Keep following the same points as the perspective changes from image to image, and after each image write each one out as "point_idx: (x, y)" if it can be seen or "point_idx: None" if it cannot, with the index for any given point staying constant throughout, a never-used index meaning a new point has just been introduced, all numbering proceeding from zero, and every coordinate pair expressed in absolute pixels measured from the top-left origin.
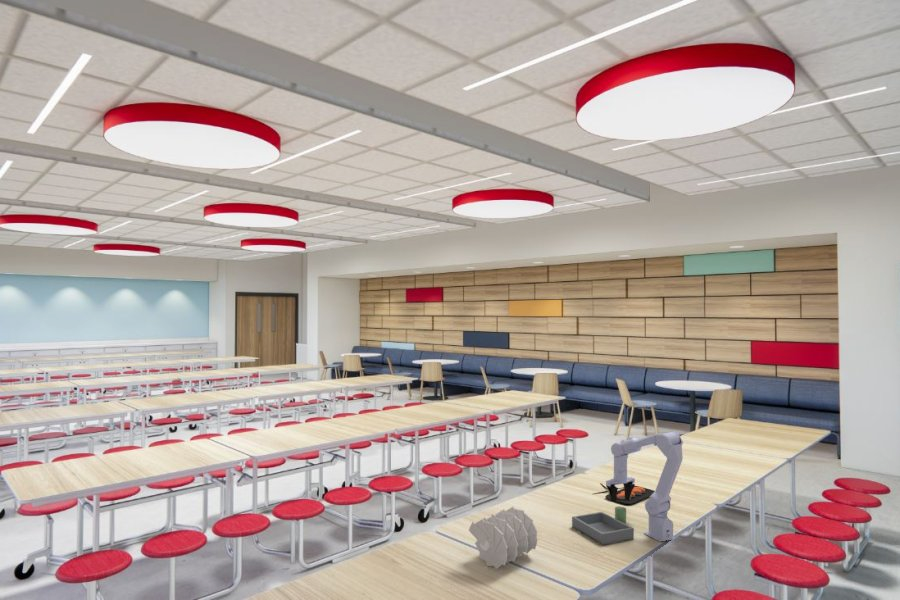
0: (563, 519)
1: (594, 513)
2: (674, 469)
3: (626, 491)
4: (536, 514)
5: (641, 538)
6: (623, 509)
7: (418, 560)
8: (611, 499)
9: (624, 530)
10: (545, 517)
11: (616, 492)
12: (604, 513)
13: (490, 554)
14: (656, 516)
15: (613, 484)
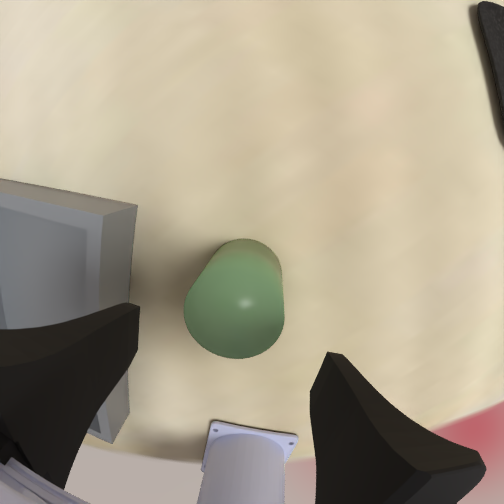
0: (25, 82)
1: (46, 211)
2: None
3: (340, 431)
4: (11, 9)
5: (165, 427)
6: (231, 345)
7: None
8: (116, 308)
9: None
10: (5, 42)
11: (78, 437)
12: (96, 252)
13: None
14: None
15: (5, 473)
